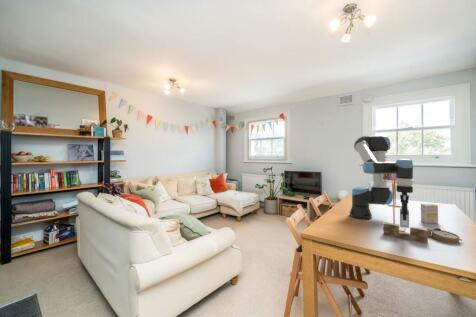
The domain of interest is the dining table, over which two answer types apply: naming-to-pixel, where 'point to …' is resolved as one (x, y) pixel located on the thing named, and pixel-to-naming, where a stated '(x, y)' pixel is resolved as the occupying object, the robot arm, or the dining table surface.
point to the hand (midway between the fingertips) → (404, 222)
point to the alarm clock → (443, 235)
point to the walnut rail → (414, 234)
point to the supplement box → (429, 213)
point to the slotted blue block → (401, 217)
